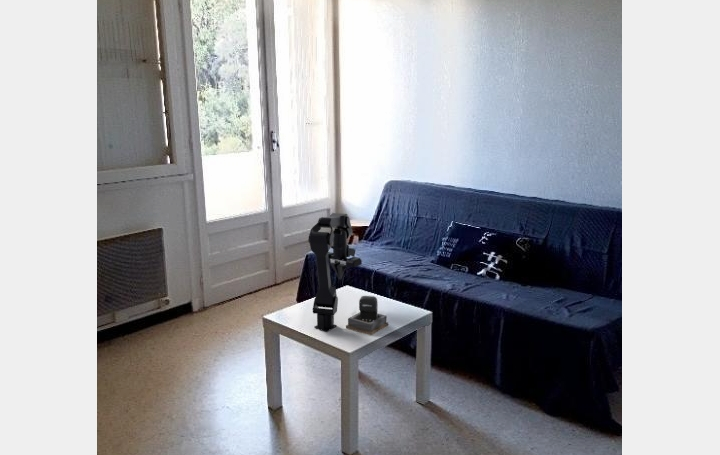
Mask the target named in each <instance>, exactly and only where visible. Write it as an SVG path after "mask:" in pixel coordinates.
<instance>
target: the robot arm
mask: <svg viewBox="0 0 720 455" xmlns="http://www.w3.org/2000/svg"><path fill="white" fill-rule="evenodd" d="M322 228H323V229H330V231H329V232H327V231H325V232H324V231H321V229H322ZM333 229H334V230H333ZM353 233H354V232H353V228H352V223H351V220H350V217H349V216H348V214H347V213H341V212H340V213H338V212H337V213H336V212H332V213H330V216H324V217H319V218H318V221H317V222H316V224H315V225H314V226H312V227H311V229H310V232H309V234H308V240H307V241H308V244H309V247H310V251H311V252H312V253H313V255H315V262H316V270H317V280H318V290H317V292H316V294H315V297H314V300H313V305H312V313H313V314H316V325H314V327H313V328H314V329H317V330H320V331H324V332H329V331H331V330H333V329H335V328H336V327H338V326H337V324H335V317H334V316H335V315H336V313H338V304H339V298H338V297H339V296H337V287H336V286H332V281H331V280H332V279H331V269H330V266H331V268H332V269H333V270H334V272H335V274H336V276H337V279H338V280H342V279H343V276H344V273H345V271H346V269H347V267H348V268H356V267H358V266H361V265H362V261H363V260H362V259H361V258H360V257H356V256H355V255H356V249H355V248H350V246H349V244H347V241H348V240H347V239H349V238H350V237H351V236H352V234H353ZM330 249H332V251H330Z"/></svg>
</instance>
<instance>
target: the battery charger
mask: <svg viewBox="0 0 720 455" xmlns="http://www.w3.org/2000/svg"><path fill="white" fill-rule="evenodd" d="M378 303H379V302H378V297H376V296H374V295H365V294H364V295H361V297H360V298H359V301H358V304H359V305H358V310H359V312H360V320H361V321H365V322H369V323H371V322H372V321H374V320H376V319H377V313H378V308H379V307H378Z"/></svg>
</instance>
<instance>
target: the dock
mask: <svg viewBox="0 0 720 455" xmlns="http://www.w3.org/2000/svg"><path fill="white" fill-rule="evenodd" d="M389 325H390V324H389V322H387V315H384V314H381V313H378V312H377V319H376V320H374V321H372V322H371V323H369V322H365V321H361V320H360V311H359V312H358V313H356V314H354V315H351V316H350V317H348V318H347V324H346V325H345V328H346V329H347V330H351V331H355V332H358V333H363V334H366V335H369V336H373V335H375V333H377V332H379V331H381V330H383V329H384V328H386V327H388V326H389Z"/></svg>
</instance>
